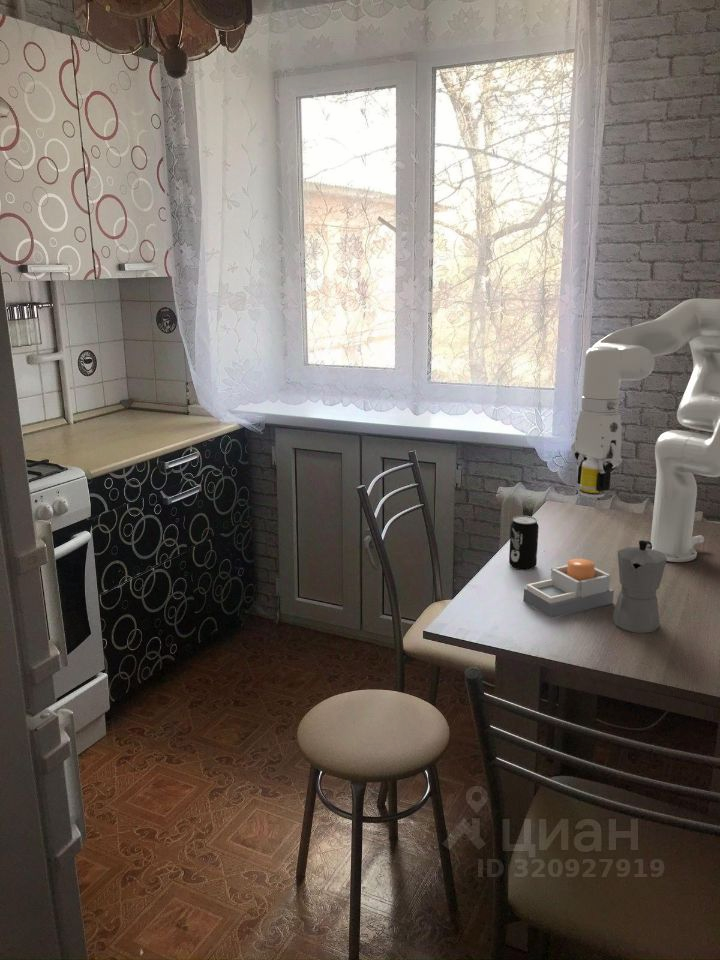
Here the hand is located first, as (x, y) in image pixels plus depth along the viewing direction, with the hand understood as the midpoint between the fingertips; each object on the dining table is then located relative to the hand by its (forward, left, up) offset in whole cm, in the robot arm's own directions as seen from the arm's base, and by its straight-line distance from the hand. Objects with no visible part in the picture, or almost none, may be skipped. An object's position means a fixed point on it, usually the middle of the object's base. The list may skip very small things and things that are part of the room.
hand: (593, 485), depth 172 cm
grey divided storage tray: (+9, +5, -24) cm, 26 cm away
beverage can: (+5, -16, -24) cm, 30 cm away
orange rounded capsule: (+6, +5, -20) cm, 22 cm away
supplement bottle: (0, 0, -2) cm, 2 cm away
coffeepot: (+3, +19, -24) cm, 31 cm away
